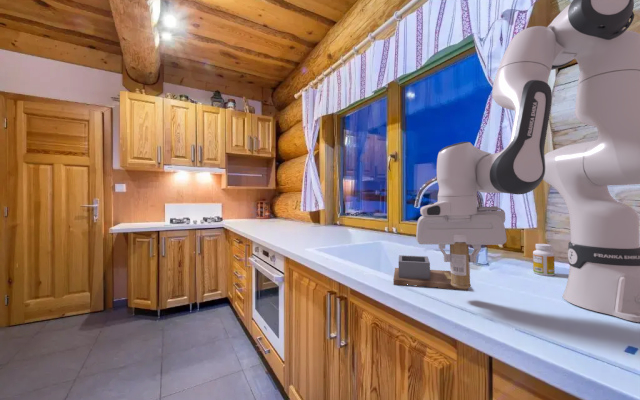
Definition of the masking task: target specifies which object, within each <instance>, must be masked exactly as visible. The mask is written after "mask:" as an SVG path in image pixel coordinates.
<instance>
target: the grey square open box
mask: <svg viewBox="0 0 640 400" xmlns="http://www.w3.org/2000/svg"><path fill="white" fill-rule="evenodd" d="M398 268H399V278H412V279H427V280H430V270H431V263H430V260H429V257H428V256H426V255H425V256H423V255H422V256H421V255H404V254H403V255H402V254H401V255H398Z"/></svg>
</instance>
